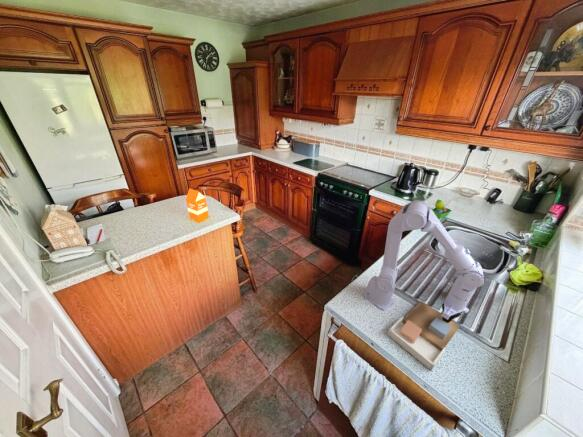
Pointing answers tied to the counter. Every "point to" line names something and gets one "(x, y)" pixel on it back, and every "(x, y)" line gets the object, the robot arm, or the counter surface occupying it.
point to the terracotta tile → (411, 331)
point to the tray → (416, 346)
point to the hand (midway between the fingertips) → (445, 320)
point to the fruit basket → (440, 209)
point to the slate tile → (439, 328)
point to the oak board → (423, 319)
